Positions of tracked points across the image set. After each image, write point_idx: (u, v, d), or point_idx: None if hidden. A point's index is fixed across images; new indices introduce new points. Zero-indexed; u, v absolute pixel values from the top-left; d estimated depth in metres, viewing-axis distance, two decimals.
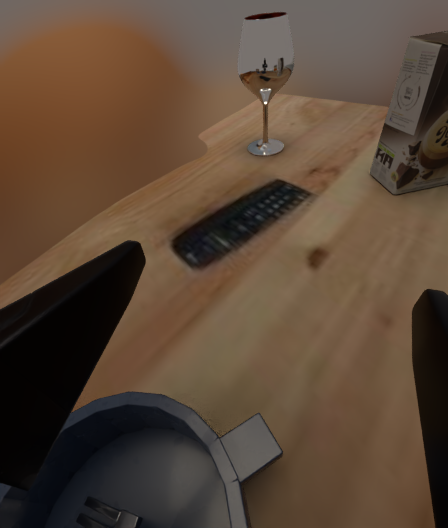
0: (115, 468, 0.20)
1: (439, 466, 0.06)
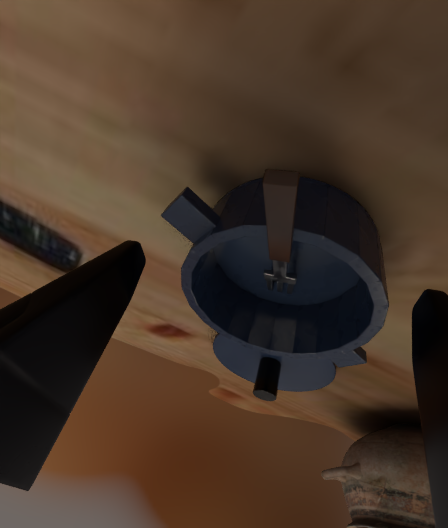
0: (249, 277, 0.26)
1: (440, 466, 0.06)
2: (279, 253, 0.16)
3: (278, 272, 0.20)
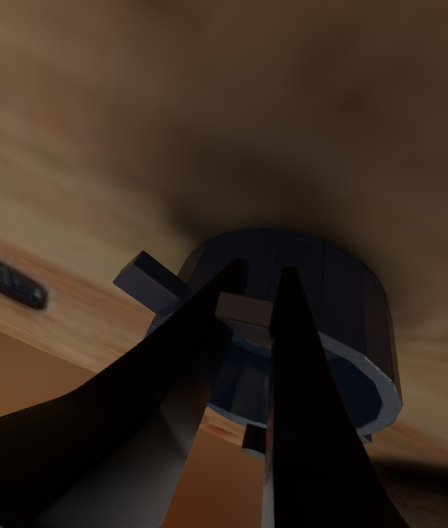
0: None
1: (268, 416, 0.07)
2: (260, 343, 0.12)
3: (263, 345, 0.16)
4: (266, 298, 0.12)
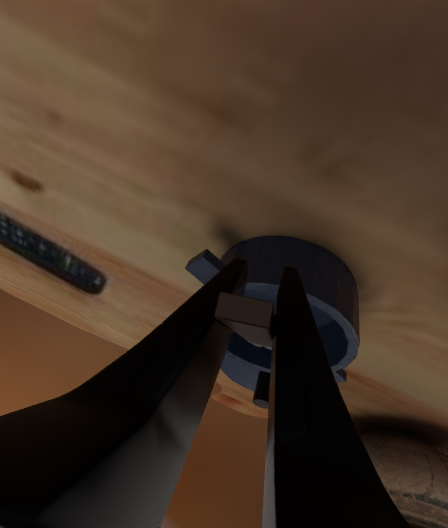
0: None
1: (268, 416, 0.07)
2: (260, 343, 0.12)
3: (263, 345, 0.16)
4: None
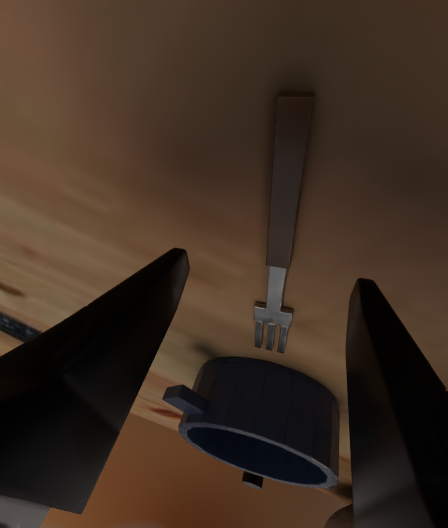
0: None
1: (356, 442, 0.07)
2: (279, 248, 0.14)
3: (273, 297, 0.17)
4: (256, 421, 0.20)
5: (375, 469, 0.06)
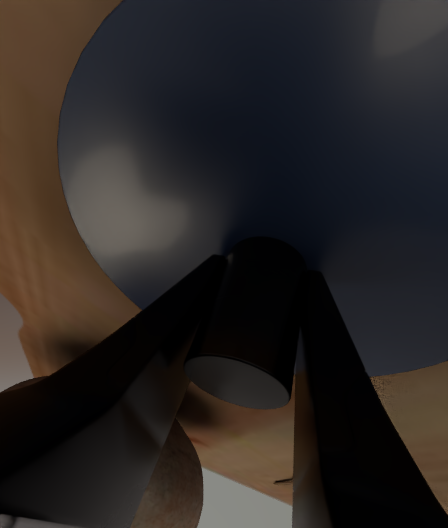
0: None
1: (296, 425, 0.07)
2: None
3: None
4: None
5: (303, 447, 0.06)
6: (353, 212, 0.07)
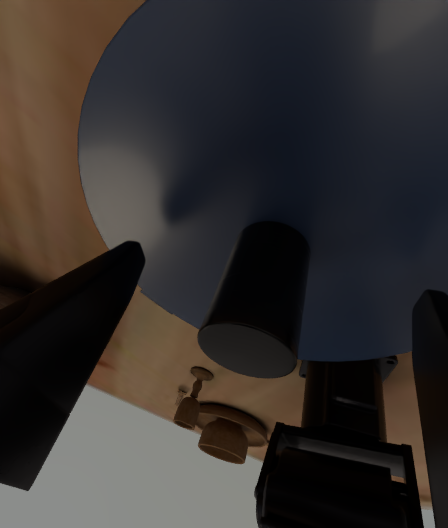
0: None
1: (440, 466, 0.06)
2: None
3: None
4: None
5: None
6: (354, 196, 0.08)
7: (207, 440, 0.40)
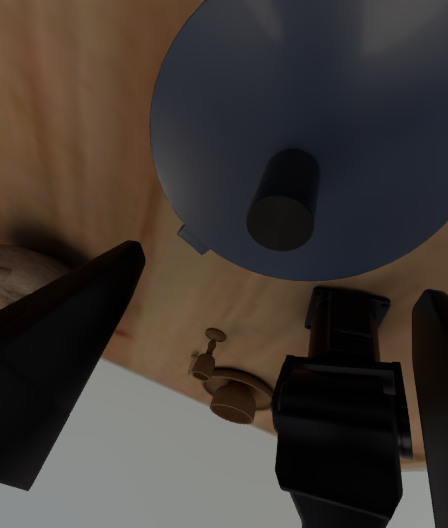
0: None
1: (440, 467, 0.06)
2: None
3: None
4: None
5: None
6: (352, 123, 0.11)
7: (219, 400, 0.43)
